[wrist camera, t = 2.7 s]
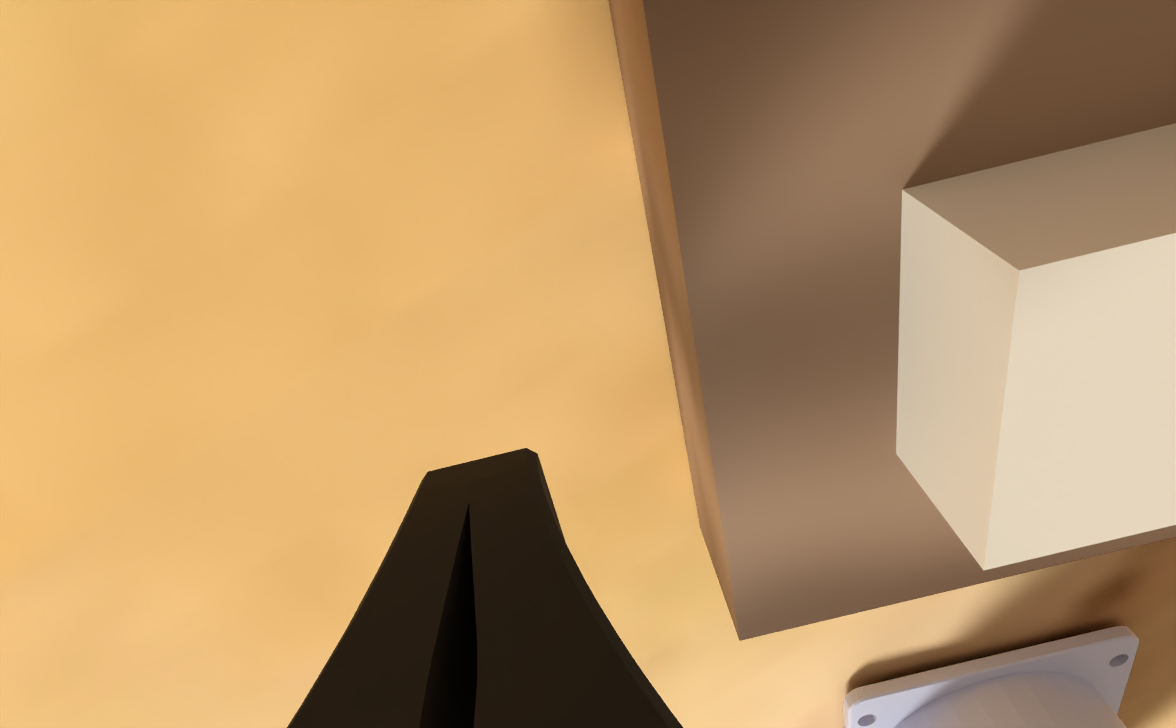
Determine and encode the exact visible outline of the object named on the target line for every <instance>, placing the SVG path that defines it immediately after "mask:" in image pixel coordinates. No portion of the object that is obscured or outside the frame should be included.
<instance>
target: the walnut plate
mask: <svg viewBox="0 0 1176 728" xmlns="http://www.w3.org/2000/svg"><path fill="white" fill-rule="evenodd" d="M609 5H610V11H611V16H612V22H613V28H614V34H615V39H616V45H617V51H618V57H619V62H620V68H621V74H622V80H623V85H624V91H625V97H626V103H627V108H628V114H629V120H630V126H631V131H632V137H633V143H634V149H635V154H636V160H637V166H638V172H639V177H640V183H641V189H642V195H643V200H644V206H645V212H646V218H647V223H648V229H649V235H650V241H651V246H652V252H653V258H654V264H655V269H656V275H657V281H658V287H659V293H660V298H661V304H662V310H663V316H664V321H665V327H666V333H667V339H668V344H669V350H670V356H671V362H672V367H673V373H674V379H675V385H676V390H677V396H678V402H679V408H680V413H681V419H682V425H683V431H684V436H685V442H686V448H687V454H688V459H689V465H690V471H691V477H692V482H693V488H694V494H695V500H696V505H697V511H698V517H699V523H700V528H701V531H702V534H703V537H704V540H705V543H706V545H707V548H708V551H709V554H710V557H711V560H712V563H713V566H714V568H715V571H716V574H717V577H718V580H719V583H720V586H721V589H722V591H723V594H724V597H725V600H726V603H727V606H728V609H729V612H730V615H731V617H732V620H733V623H734V626H735V629H736V632H737V635H738V638H739V640H745V639H749V638H753V637H757V636H761V635H766V634H770V633H774V632H778V631H782V630H787V629H791V628H795V627H799V626H803V625H808V624H812V623H816V622H820V621H824V620H829V619H833V618H837V617H841V616H845V615H850V614H854V613H858V612H862V611H866V610H871V609H875V608H879V607H883V606H887V605H892V604H896V603H900V602H904V601H908V600H913V599H917V598H921V597H925V596H929V595H934V594H938V593H942V592H946V591H950V590H955V589H959V588H963V587H967V586H971V585H976V584H980V583H984V582H988V581H992V580H997V579H1001V578H1005V577H1009V576H1013V575H1018V574H1022V573H1026V572H1030V571H1034V570H1039V569H1043V568H1047V567H1051V566H1055V565H1060V564H1064V563H1068V562H1072V561H1076V560H1081V559H1085V558H1089V557H1093V556H1097V555H1102V554H1106V553H1110V552H1114V551H1118V550H1123V549H1127V548H1131V547H1135V546H1139V545H1144V544H1148V543H1152V542H1156V541H1160V540H1165V539H1169V538H1173V537H1176V525H1173V526H1168V527H1164V528H1160V529H1156V530H1152V531H1147V532H1143V533H1139V534H1135V535H1131V536H1126V537H1122V538H1118V539H1114V540H1110V541H1106V542H1101V543H1097V544H1093V545H1089V546H1085V547H1080V548H1076V549H1072V550H1068V551H1064V552H1059V553H1055V554H1051V555H1047V556H1043V557H1038V558H1034V559H1030V560H1026V561H1022V562H1017V563H1013V564H1009V565H1005V566H1001V567H996V568H992V569H988V570H984V571H983V569H982V568H981V566H980V565H979V564H978V562H977V561H976V560H975V558H974V557H973V556H972V554H971V553H970V552H969V550H968V549H967V548H966V546H965V545H964V544H963V542H962V541H961V540H960V538H959V537H958V536H957V534H956V533H955V532H954V530H953V529H952V528H951V526H950V525H949V524H948V522H947V521H946V520H945V518H944V517H943V516H942V514H941V513H940V512H939V510H938V509H937V508H936V506H935V505H934V504H933V502H932V501H931V500H930V498H929V497H928V496H927V494H926V493H925V492H924V490H923V489H922V488H921V486H920V485H919V483H918V482H917V481H916V479H915V478H914V477H913V475H912V474H911V473H910V471H909V470H908V469H907V467H906V466H905V465H904V463H903V462H902V461H901V459H900V458H899V457H898V455H897V454H896V433H897V390H898V347H899V304H900V260H901V217H902V190H903V189H907V188H911V187H915V186H919V185H923V184H927V183H932V182H936V181H940V180H944V179H948V178H952V177H956V176H960V175H965V174H969V173H973V172H977V171H981V170H985V169H989V168H993V167H998V166H1002V165H1006V164H1010V163H1014V162H1018V161H1022V160H1026V159H1030V158H1035V157H1039V156H1043V155H1047V154H1051V153H1055V152H1059V151H1063V150H1068V149H1072V148H1076V147H1080V146H1084V145H1088V144H1092V143H1096V142H1101V141H1105V140H1109V139H1113V138H1117V137H1121V136H1125V135H1129V134H1134V133H1138V132H1142V131H1146V130H1150V129H1154V128H1158V127H1162V126H1167V125H1171V124H1175V123H1176V0H609Z"/></svg>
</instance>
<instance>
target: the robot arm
mask: <svg viewBox="0 0 1176 728" xmlns="http://www.w3.org/2000/svg"><path fill="white" fill-rule="evenodd" d="M1138 646H1139V639H1138V638H1137V636H1136V635H1135V634H1134V633H1133V632H1132V631H1131V630H1130V629H1129V628H1128V627H1125V626H1114V627H1110V628H1106V629H1102V630H1097V631H1093V632H1089V633H1085V634H1080V635H1076V636H1072V637H1068V638H1064V639H1059V640H1055V641H1051V642H1047V643H1043V644H1038V645H1034V646H1030V647H1026V648H1021V649H1017V650H1013V651H1009V652H1005V653H1000V654H996V655H992V656H988V657H984V658H979V659H975V660H971V661H967V662H962V663H958V664H954V665H950V666H946V667H941V668H937V669H933V670H929V671H925V672H920V673H916V674H912V675H908V676H903V677H899V678H895V679H891V680H887V681H882V682H878V683H874V684H870V685H866V686H861V687H858V688H855V689H853V690H852V691H850V692H849V693H848V694H847V695H846V697H845V699H844V728H1127V727H1126V726H1125V725H1124V723H1123V722H1122V721H1121V719H1120V718H1119V717H1118V716H1117V714H1118V711H1119V707H1120V704H1121V701H1122V698H1123V694H1124V691H1125V688H1126V685H1127V681H1128V678H1129V675H1130V672H1131V668H1132V665H1133V662H1134V659H1135V655H1136V652H1137V649H1138ZM287 728H683V727H682V726H681V724H680V723H679V722H678V720H677V719H676V718H675V716H674V715H673V714H672V712H671V711H670V710H669V708H668V707H667V706H666V704H665V703H664V701H663V700H662V699H661V697H660V696H659V694H658V693H657V692H656V690H655V689H654V687H653V686H652V685H651V683H650V682H649V680H648V679H647V678H646V676H645V675H644V673H643V672H642V670H641V669H640V668H639V666H638V665H637V663H636V662H635V660H634V659H633V657H632V656H631V654H630V653H629V651H628V650H627V648H626V647H625V645H624V644H623V642H622V641H621V639H620V637H619V636H618V634H617V633H616V631H615V630H614V628H613V626H612V625H611V623H610V621H609V620H608V618H607V617H606V615H605V613H604V612H603V610H602V609H601V607H600V605H599V604H598V602H597V600H596V599H595V597H594V595H593V593H592V592H591V590H590V588H589V586H588V585H587V583H586V581H585V579H584V578H583V576H582V574H581V572H580V570H579V568H578V566H577V564H576V562H575V560H574V558H573V556H572V554H571V553H570V551H569V549H568V547H567V545H566V543H565V539H564V536H563V533H562V530H561V527H560V524H559V520H558V517H557V514H556V511H555V508H554V505H553V501H552V498H551V495H550V492H549V489H548V486H547V483H546V479H545V476H544V473H543V470H542V467H541V464H540V460H539V457H538V454H537V453H535V452H533V451H531V450H529V449H527V448H524V449H520V450H516V451H512V452H507V453H503V454H499V455H495V456H491V457H487V458H483V459H479V460H474V461H470V462H466V463H462V464H458V465H454V466H450V467H445V468H441V469H437V470H433V471H429V472H427V474H426V475H425V477H424V478H423V480H422V481H421V484H420V486H419V488H418V490H417V492H416V494H415V496H414V498H413V500H412V502H411V504H410V507H409V509H408V511H407V513H406V515H405V517H404V519H403V521H402V523H401V525H400V527H399V529H398V531H397V534H396V536H395V538H394V540H393V542H392V544H391V546H390V548H389V550H388V552H387V554H386V556H385V558H384V560H383V562H382V564H381V566H380V568H379V569H378V571H377V573H376V575H375V577H374V579H373V581H372V583H371V584H370V586H369V588H368V590H367V592H366V594H365V596H364V598H363V599H362V601H361V603H360V605H359V607H358V609H357V611H356V613H355V614H354V616H353V618H352V620H351V622H350V624H349V625H348V627H347V629H346V631H345V633H344V634H343V636H342V638H341V640H340V641H339V643H338V645H337V646H336V648H335V650H334V651H333V653H332V655H331V656H330V658H329V660H328V661H327V663H326V665H325V666H324V668H323V670H322V671H321V673H320V675H319V677H318V678H317V680H316V682H315V683H314V685H313V687H312V688H311V690H310V692H309V693H308V695H307V697H306V698H305V700H304V702H303V703H302V705H301V706H300V708H299V710H298V711H297V713H296V714H295V716H294V717H293V719H292V721H291V722H290V724H289V725H288V727H287Z"/></svg>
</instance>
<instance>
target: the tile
mask: <svg viewBox="0 0 1176 728" xmlns="http://www.w3.org/2000/svg"><path fill="white" fill-rule="evenodd" d="M896 454H897V455H898V457H899V458H900V459H901V461H902V462H903V463H904V465H905V466H906V467H907V469H908V470H909V471H910V473H911V474H912V475H913V477H914V478H915V479H916V481H917V482H918V483H919V485H920V486H921V488H922V489H923V490H924V492H925V493H926V494H927V496H928V497H929V498H930V500H931V501H932V502H933V504H934V505H935V506H936V508H937V509H938V510H939V512H940V513H941V514H942V516H943V517H944V518H945V520H946V521H947V522H948V524H949V525H950V526H951V528H952V529H953V530H954V532H955V533H956V534H957V536H958V537H959V538H960V540H961V541H962V542H963V544H964V545H965V546H966V548H967V549H968V550H969V552H970V553H971V554H972V556H973V557H974V558H975V560H976V561H977V562H978V564H979V565H980V566H981V568H982V569H983V571H984V570H988V569H992V568H996V567H1001V566H1005V565H1009V564H1013V563H1017V562H1022V561H1026V560H1030V559H1034V558H1038V557H1043V556H1047V555H1051V554H1055V553H1059V552H1064V551H1068V550H1072V549H1076V548H1080V547H1085V546H1089V545H1093V544H1097V543H1101V542H1106V541H1110V540H1114V539H1118V538H1122V537H1126V536H1131V535H1135V534H1139V533H1143V532H1147V531H1152V530H1156V529H1160V528H1164V527H1168V526H1173V525H1176V123H1175V124H1171V125H1167V126H1162V127H1158V128H1154V129H1150V130H1146V131H1142V132H1138V133H1134V134H1129V135H1125V136H1121V137H1117V138H1113V139H1109V140H1105V141H1101V142H1096V143H1092V144H1088V145H1084V146H1080V147H1076V148H1072V149H1068V150H1063V151H1059V152H1055V153H1051V154H1047V155H1043V156H1039V157H1035V158H1030V159H1026V160H1022V161H1018V162H1014V163H1010V164H1006V165H1002V166H998V167H993V168H989V169H985V170H981V171H977V172H973V173H969V174H965V175H960V176H956V177H952V178H948V179H944V180H940V181H936V182H932V183H927V184H923V185H919V186H915V187H911V188H907V189H903V190H902V217H901V260H900V304H899V347H898V390H897V433H896Z"/></svg>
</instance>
